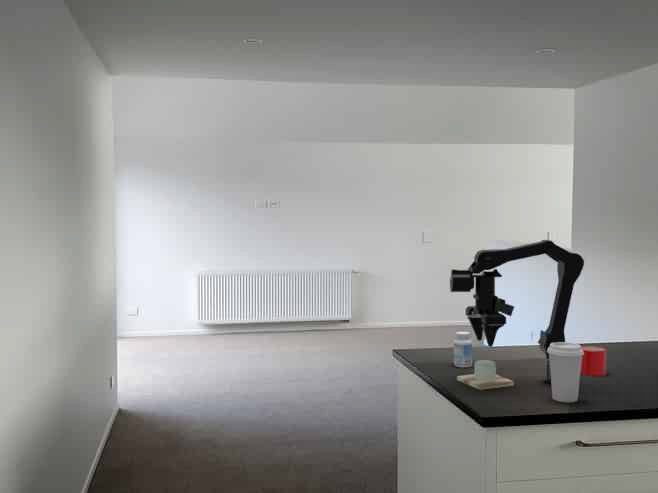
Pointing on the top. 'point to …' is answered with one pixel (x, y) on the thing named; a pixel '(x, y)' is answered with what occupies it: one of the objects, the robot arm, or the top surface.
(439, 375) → the top surface
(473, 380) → the holder
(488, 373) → the cap
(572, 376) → the coffee cup
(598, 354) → the mug
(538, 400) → the top surface
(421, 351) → the top surface
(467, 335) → the pill bottle
